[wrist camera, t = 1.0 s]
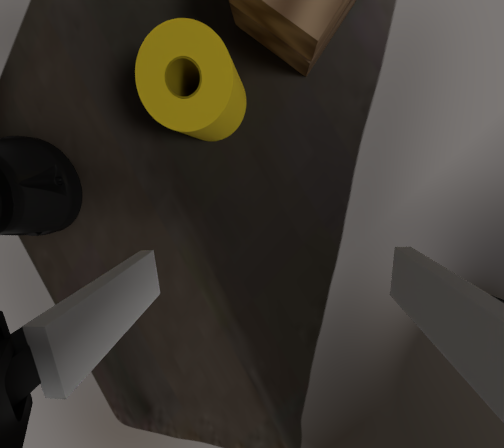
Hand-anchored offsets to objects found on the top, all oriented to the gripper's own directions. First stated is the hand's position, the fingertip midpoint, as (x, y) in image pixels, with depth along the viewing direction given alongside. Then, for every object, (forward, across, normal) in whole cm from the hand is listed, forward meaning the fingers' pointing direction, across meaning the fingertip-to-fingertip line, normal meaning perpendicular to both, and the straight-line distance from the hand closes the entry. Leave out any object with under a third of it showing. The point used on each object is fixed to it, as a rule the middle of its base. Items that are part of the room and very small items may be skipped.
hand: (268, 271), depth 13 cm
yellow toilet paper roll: (+23, -8, +14) cm, 28 cm away
